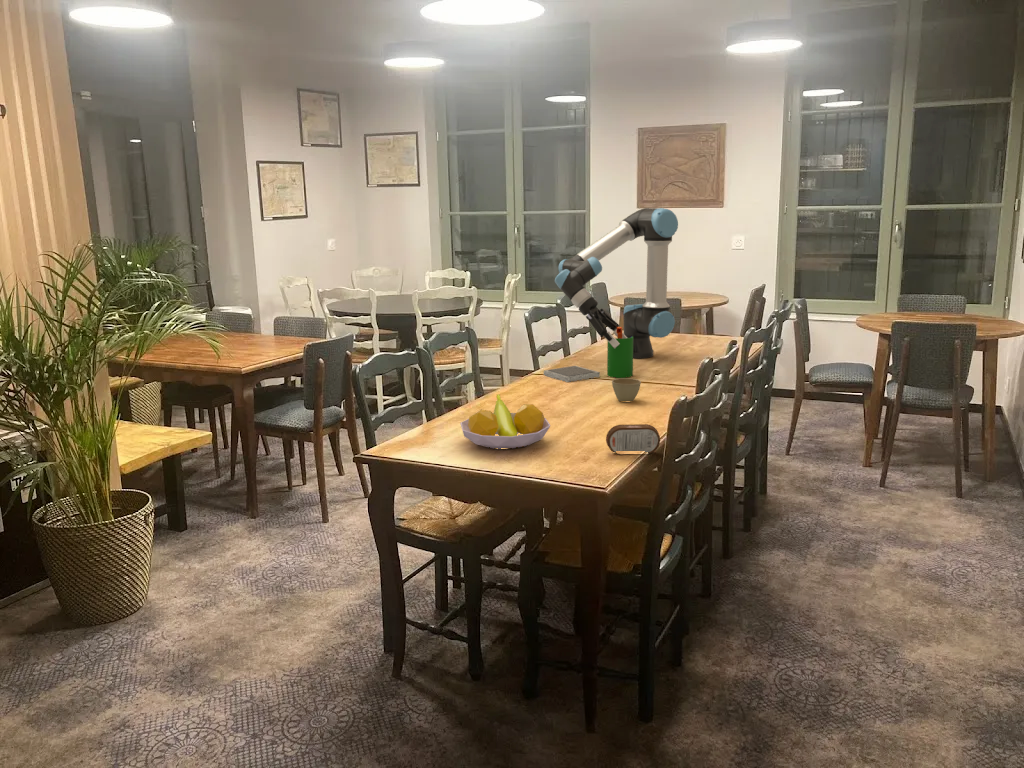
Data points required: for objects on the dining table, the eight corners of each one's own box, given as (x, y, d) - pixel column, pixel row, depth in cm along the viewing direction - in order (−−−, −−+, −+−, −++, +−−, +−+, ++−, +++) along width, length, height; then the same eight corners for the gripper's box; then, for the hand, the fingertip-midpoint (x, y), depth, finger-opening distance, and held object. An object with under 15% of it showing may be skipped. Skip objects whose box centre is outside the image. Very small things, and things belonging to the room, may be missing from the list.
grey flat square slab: (575, 370, 346) (575, 365, 346) (599, 376, 333) (599, 371, 333) (543, 375, 338) (543, 370, 337) (567, 382, 325) (567, 376, 324)
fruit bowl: (544, 458, 233) (544, 418, 230) (450, 454, 238) (448, 416, 235) (557, 430, 260) (556, 394, 257) (471, 427, 264) (470, 392, 262)
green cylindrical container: (632, 373, 339) (633, 324, 334) (633, 378, 330) (634, 328, 326) (607, 373, 340) (607, 324, 335) (607, 378, 331) (607, 328, 327)
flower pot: (629, 405, 288) (630, 385, 286) (606, 401, 295) (606, 381, 293) (646, 400, 295) (646, 380, 293) (622, 396, 302) (622, 376, 300)
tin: (658, 451, 237) (659, 422, 235) (660, 455, 234) (661, 425, 232) (605, 453, 237) (605, 424, 235) (607, 456, 234) (607, 427, 232)
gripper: (589, 305, 347) (624, 345, 343) (567, 312, 328) (605, 355, 324) (601, 293, 343) (637, 333, 340) (580, 299, 324) (618, 342, 320)
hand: (621, 343), depth 332 cm, fingers open, 10 cm apart
